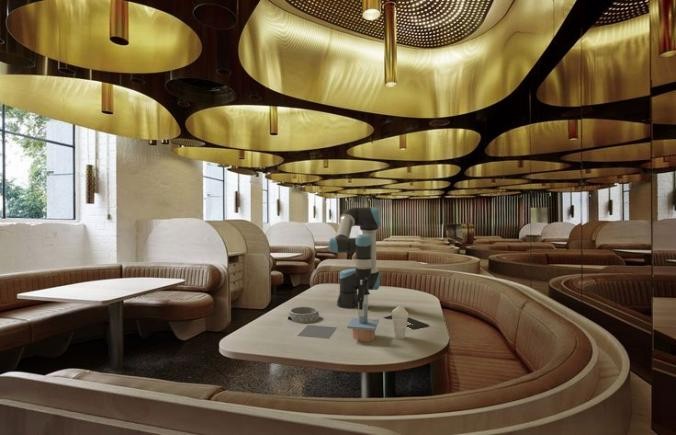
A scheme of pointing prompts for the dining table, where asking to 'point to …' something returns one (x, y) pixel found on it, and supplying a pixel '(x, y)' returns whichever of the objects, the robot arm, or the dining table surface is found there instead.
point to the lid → (363, 321)
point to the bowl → (363, 335)
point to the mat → (317, 331)
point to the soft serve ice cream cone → (399, 321)
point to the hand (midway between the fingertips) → (363, 311)
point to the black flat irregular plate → (415, 323)
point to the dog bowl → (304, 314)
